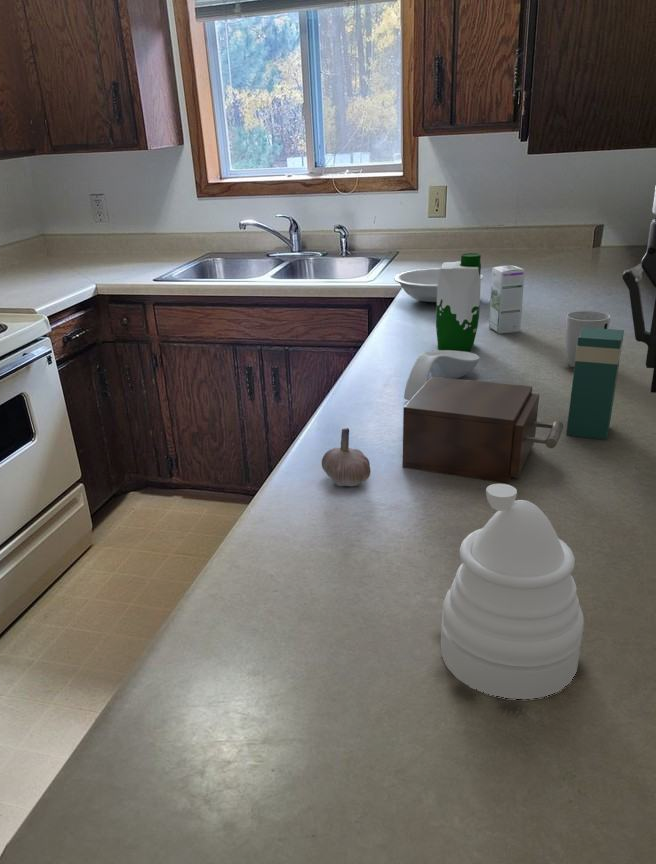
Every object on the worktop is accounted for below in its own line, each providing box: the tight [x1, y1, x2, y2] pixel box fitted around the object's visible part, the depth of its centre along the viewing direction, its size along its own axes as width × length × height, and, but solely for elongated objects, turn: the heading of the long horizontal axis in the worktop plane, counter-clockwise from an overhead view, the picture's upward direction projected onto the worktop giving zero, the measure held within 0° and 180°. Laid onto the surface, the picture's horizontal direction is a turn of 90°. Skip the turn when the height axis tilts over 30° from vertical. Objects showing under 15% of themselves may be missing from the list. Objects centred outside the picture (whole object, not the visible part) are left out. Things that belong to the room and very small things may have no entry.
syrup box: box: [488, 265, 526, 334], centre depth 172 cm, size 6×6×14 cm
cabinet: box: [401, 376, 533, 484], centre depth 111 cm, size 16×15×10 cm
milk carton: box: [435, 252, 482, 353], centre depth 160 cm, size 9×9×20 cm
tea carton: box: [565, 327, 625, 441], centre depth 116 cm, size 6×6×16 cm
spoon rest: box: [403, 349, 480, 401], centre depth 142 cm, size 24×12×7 cm, turn 151°
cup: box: [565, 310, 611, 368], centre depth 147 cm, size 8×8×10 cm
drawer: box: [510, 392, 564, 478], centre depth 109 cm, size 19×13×8 cm
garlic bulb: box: [321, 427, 371, 487], centre depth 106 cm, size 8×7×8 cm
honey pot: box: [440, 483, 585, 701], centre depth 68 cm, size 13×13×18 cm
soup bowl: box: [393, 267, 484, 303], centre depth 204 cm, size 24×24×7 cm
